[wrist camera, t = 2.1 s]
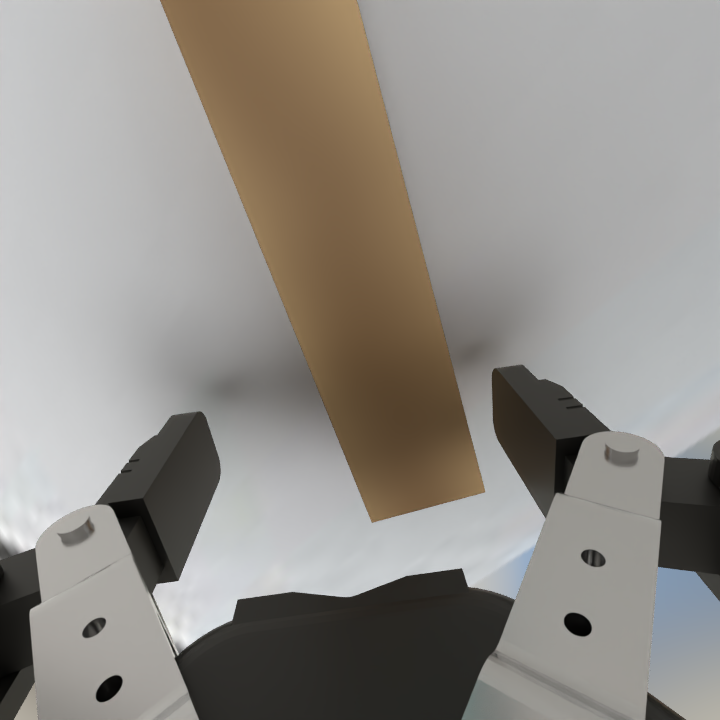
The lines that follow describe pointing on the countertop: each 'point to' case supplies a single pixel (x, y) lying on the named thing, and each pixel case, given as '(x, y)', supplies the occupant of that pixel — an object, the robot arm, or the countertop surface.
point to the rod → (336, 234)
